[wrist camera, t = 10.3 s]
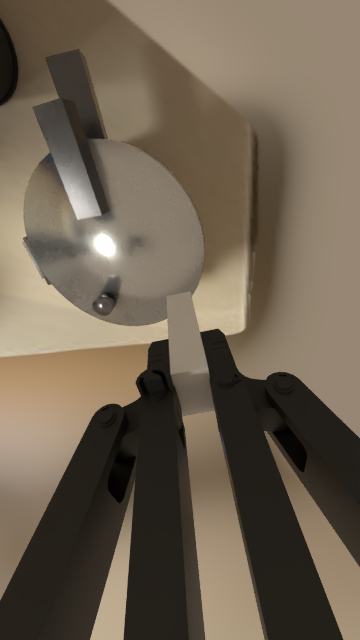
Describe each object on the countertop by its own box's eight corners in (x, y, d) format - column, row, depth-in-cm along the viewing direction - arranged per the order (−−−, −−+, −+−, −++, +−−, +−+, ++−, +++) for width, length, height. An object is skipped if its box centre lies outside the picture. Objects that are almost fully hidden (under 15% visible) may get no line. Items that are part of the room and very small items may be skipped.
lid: (74, 324, 30) (62, 337, 28) (-26, 137, 20) (-56, 136, 18) (214, 316, 26) (213, 331, 24) (182, 71, 15) (174, 60, 13)
